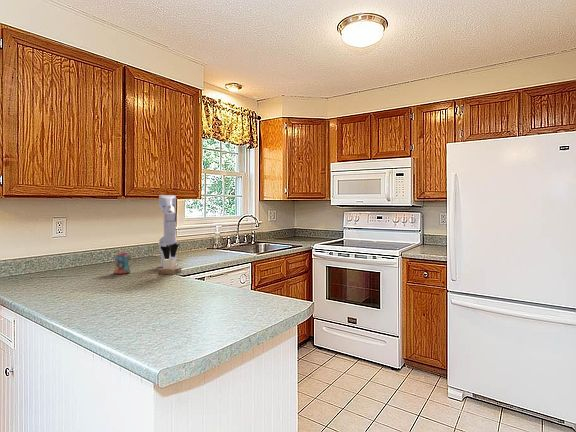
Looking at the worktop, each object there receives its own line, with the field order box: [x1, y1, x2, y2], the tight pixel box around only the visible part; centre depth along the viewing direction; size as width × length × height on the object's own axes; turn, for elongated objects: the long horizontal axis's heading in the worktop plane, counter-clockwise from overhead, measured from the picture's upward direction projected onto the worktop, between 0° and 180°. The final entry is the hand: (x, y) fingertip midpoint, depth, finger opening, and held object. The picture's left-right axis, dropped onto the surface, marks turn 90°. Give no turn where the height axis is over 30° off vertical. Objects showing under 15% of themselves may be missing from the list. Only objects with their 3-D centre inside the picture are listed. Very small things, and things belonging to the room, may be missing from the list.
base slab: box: [157, 266, 182, 276], centre depth 205 cm, size 9×9×2 cm
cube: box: [162, 258, 177, 269], centre depth 205 cm, size 5×5×5 cm
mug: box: [112, 252, 137, 275], centre depth 202 cm, size 12×9×11 cm
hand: (170, 257), depth 205 cm, fingers open, 7 cm apart
